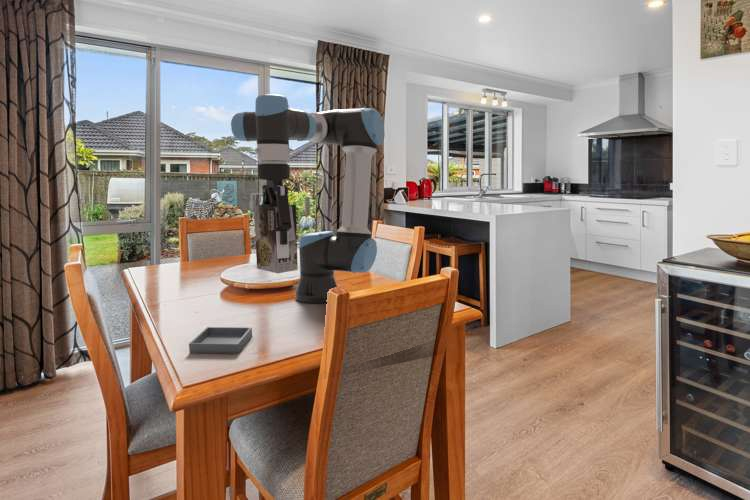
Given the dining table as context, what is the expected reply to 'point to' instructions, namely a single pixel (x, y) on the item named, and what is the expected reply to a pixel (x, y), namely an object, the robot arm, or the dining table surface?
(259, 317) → the dining table surface
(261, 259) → the coffee box
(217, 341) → the tray
